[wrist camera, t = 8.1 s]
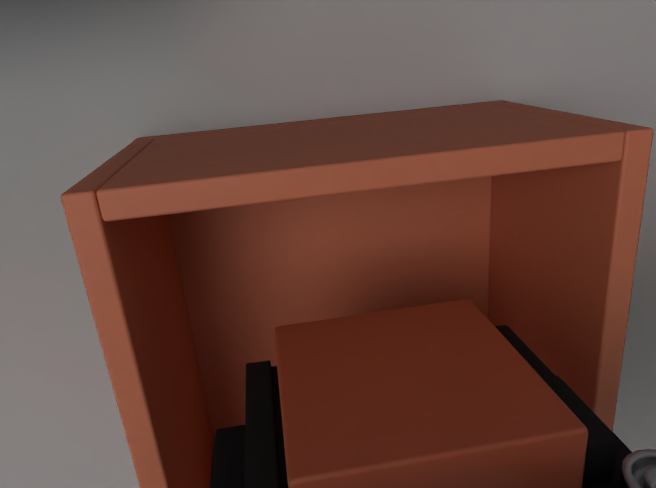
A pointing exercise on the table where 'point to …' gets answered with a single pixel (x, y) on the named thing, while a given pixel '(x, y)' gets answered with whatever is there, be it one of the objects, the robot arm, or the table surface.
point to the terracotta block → (420, 405)
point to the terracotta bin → (350, 250)
